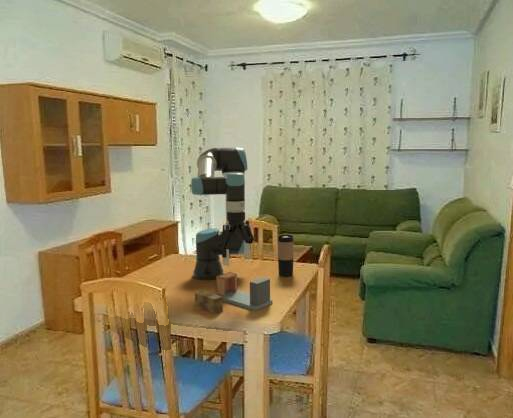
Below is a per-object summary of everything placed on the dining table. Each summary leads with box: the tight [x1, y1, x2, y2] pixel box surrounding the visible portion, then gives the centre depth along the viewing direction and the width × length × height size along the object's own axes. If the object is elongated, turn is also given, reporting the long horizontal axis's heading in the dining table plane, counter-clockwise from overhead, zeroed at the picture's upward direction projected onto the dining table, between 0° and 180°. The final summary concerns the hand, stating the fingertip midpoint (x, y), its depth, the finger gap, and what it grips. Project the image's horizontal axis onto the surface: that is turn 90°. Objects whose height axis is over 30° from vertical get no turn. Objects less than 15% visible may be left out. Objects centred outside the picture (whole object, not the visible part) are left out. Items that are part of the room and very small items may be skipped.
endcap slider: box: [215, 271, 238, 296], centre depth 195 cm, size 4×8×8 cm, turn 139°
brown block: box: [194, 290, 224, 315], centre depth 180 cm, size 12×4×6 cm, turn 48°
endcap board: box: [212, 276, 273, 312], centre depth 189 cm, size 25×11×11 cm, turn 49°
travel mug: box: [277, 234, 294, 278], centre depth 224 cm, size 8×8×20 cm
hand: (236, 261), depth 186 cm, fingers open, 13 cm apart
